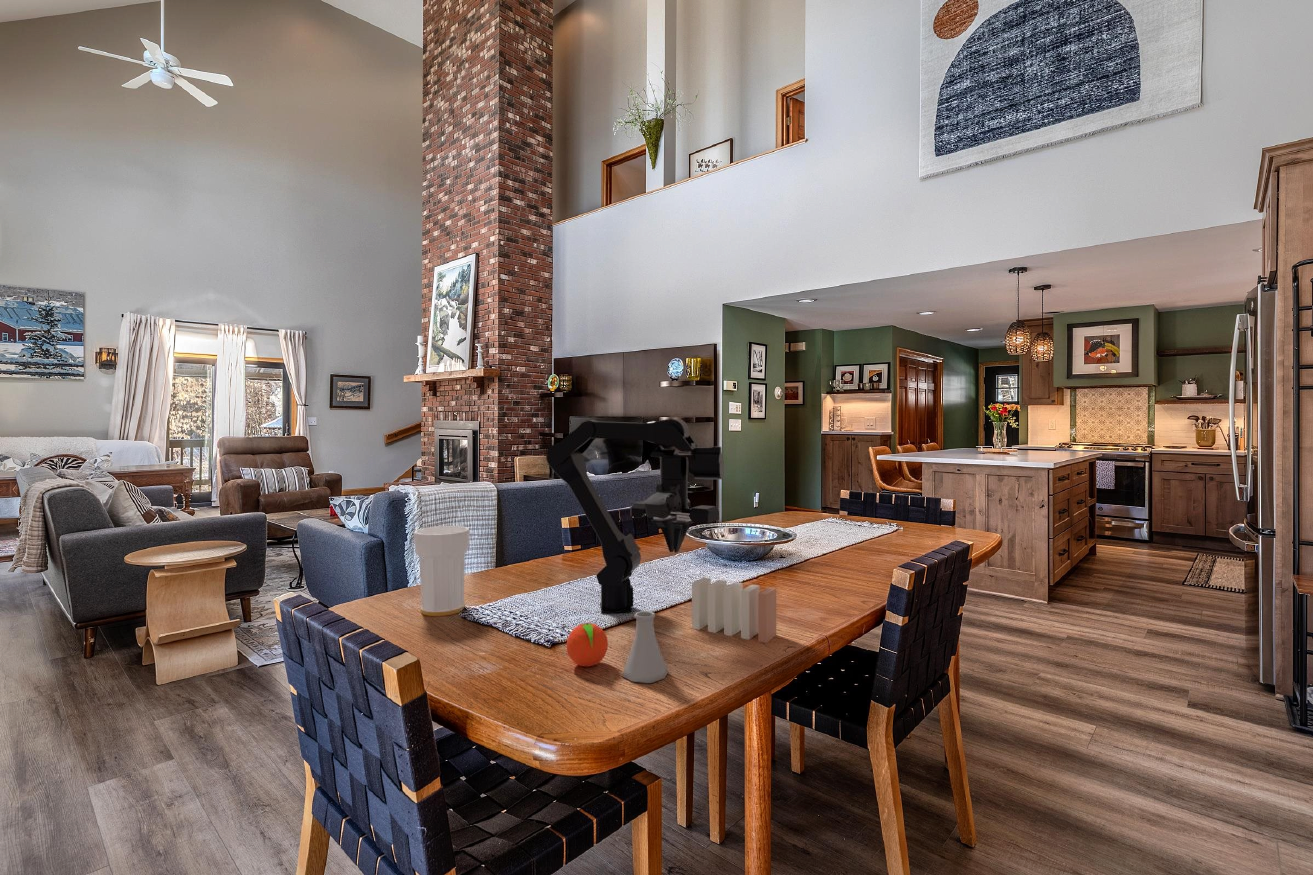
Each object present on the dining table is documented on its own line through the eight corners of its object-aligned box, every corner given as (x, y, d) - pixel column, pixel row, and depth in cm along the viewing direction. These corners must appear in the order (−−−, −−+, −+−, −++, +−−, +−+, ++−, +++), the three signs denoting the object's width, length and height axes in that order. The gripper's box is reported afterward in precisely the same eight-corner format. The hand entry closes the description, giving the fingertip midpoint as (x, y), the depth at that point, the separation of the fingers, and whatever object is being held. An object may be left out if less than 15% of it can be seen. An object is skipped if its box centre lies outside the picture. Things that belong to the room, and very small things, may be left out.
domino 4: (741, 637, 120) (741, 590, 119) (751, 630, 124) (751, 584, 124) (748, 639, 119) (749, 591, 118) (759, 631, 123) (759, 585, 123)
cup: (469, 600, 145) (468, 524, 144) (471, 614, 134) (470, 532, 134) (416, 605, 141) (415, 527, 141) (414, 620, 131) (412, 536, 130)
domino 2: (707, 631, 123) (707, 585, 123) (719, 624, 128) (719, 579, 127) (715, 632, 123) (715, 586, 122) (726, 625, 127) (726, 580, 126)
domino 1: (691, 628, 125) (691, 582, 125) (703, 621, 129) (703, 577, 129) (699, 629, 124) (699, 583, 124) (710, 622, 129) (710, 578, 128)
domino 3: (724, 634, 122) (724, 587, 121) (735, 627, 126) (735, 582, 125) (731, 636, 121) (731, 589, 120) (742, 628, 125) (742, 583, 125)
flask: (652, 688, 98) (651, 623, 97) (613, 678, 102) (613, 616, 101) (675, 672, 104) (675, 611, 103) (638, 663, 108) (638, 604, 107)
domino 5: (758, 641, 118) (758, 593, 118) (768, 633, 122) (768, 586, 122) (766, 642, 117) (766, 594, 117) (776, 634, 121) (776, 588, 121)
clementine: (613, 672, 104) (613, 629, 103) (571, 677, 102) (570, 633, 101) (603, 655, 111) (603, 614, 111) (563, 659, 109) (563, 618, 109)
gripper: (615, 479, 132) (615, 554, 132) (694, 484, 122) (694, 565, 123) (644, 475, 141) (644, 545, 142) (720, 479, 132) (720, 554, 132)
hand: (674, 552), depth 134 cm, fingers closed
